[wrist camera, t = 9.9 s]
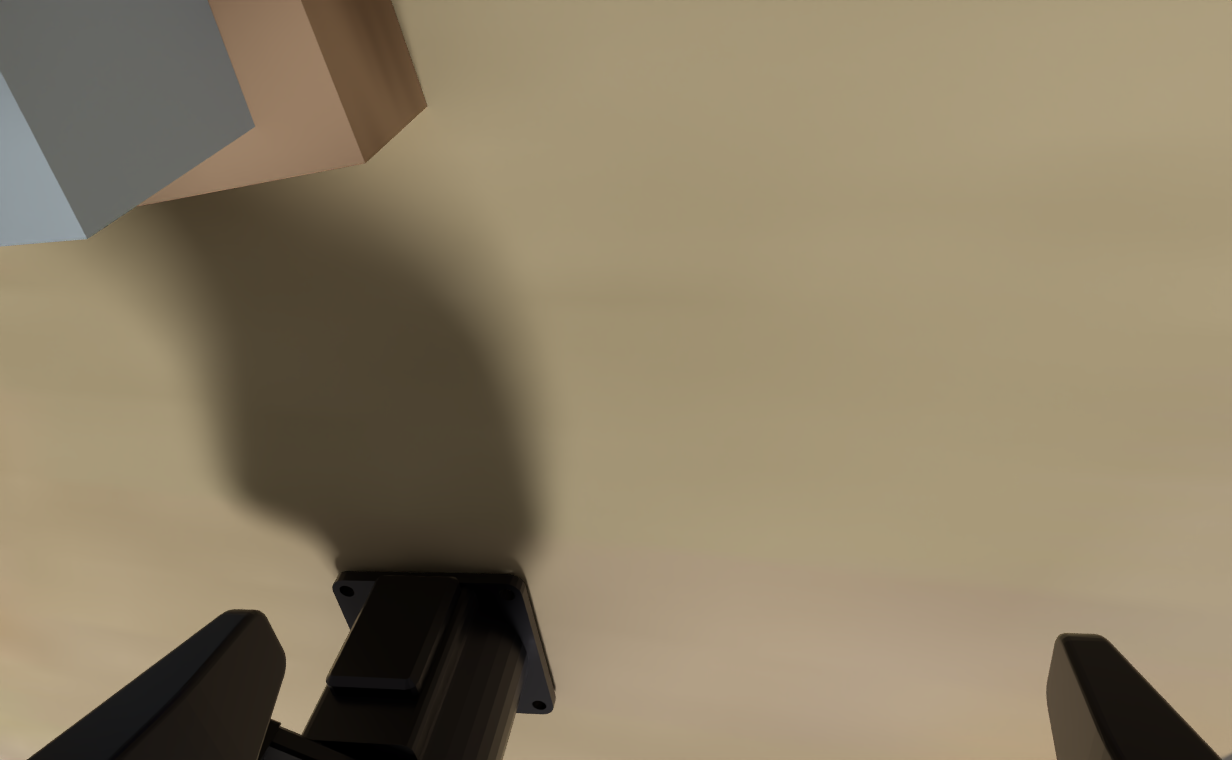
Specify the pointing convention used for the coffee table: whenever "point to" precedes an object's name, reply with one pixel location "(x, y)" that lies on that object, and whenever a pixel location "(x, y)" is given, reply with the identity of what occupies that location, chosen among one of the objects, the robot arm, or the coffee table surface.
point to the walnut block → (308, 90)
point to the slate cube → (106, 109)
